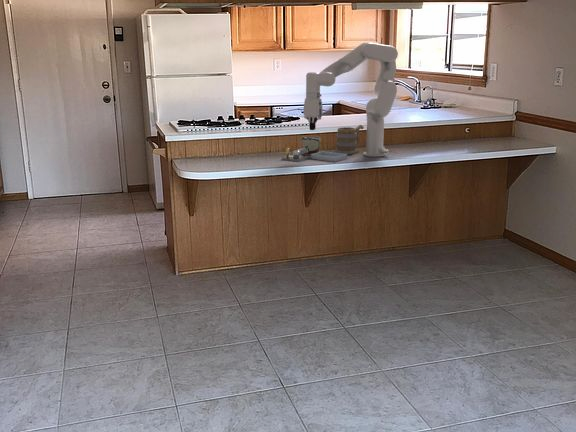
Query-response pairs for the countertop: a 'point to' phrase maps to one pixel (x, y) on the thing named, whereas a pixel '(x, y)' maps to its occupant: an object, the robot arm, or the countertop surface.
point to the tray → (329, 156)
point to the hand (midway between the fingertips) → (312, 129)
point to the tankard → (348, 140)
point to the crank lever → (300, 151)
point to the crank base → (297, 159)
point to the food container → (311, 144)
